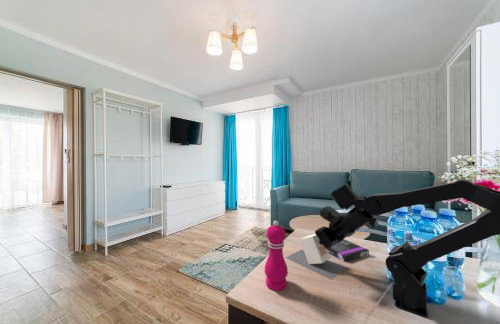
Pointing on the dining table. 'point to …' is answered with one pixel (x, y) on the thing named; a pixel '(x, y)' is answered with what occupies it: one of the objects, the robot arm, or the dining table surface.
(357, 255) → the box
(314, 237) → the block
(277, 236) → the pepper mill
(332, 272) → the mat
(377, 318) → the dining table surface
